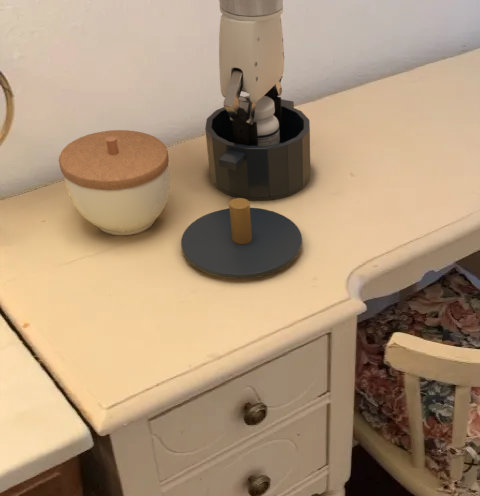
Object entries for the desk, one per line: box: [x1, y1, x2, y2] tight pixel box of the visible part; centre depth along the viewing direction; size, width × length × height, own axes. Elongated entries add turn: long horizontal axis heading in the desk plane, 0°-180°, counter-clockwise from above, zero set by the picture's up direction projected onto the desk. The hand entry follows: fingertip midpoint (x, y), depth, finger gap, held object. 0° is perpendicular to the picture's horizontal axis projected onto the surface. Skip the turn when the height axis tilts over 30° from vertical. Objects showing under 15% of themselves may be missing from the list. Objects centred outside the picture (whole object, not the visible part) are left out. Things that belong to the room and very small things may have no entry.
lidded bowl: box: [58, 129, 171, 236], centre depth 102 cm, size 13×13×11 cm
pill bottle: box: [239, 94, 280, 146], centre depth 112 cm, size 6×6×10 cm
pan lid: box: [180, 197, 303, 279], centre depth 100 cm, size 15×15×6 cm
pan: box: [204, 98, 311, 201], centre depth 113 cm, size 14×19×8 cm
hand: (258, 135), depth 111 cm, fingers open, 7 cm apart
